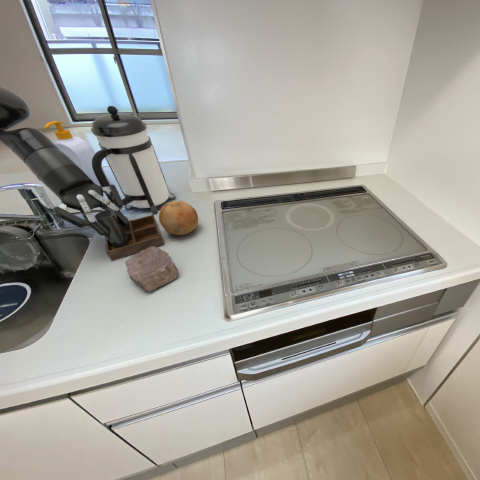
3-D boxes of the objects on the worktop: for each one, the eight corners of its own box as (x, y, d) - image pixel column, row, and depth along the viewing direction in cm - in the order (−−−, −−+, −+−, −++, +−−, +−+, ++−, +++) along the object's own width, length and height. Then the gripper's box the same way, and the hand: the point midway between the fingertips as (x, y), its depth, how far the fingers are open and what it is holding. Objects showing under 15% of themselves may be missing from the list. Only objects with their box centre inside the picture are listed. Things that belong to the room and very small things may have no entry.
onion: (200, 219, 82) (191, 191, 75) (202, 237, 75) (194, 208, 69) (165, 225, 78) (154, 196, 72) (165, 245, 71) (152, 215, 65)
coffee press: (122, 198, 89) (73, 101, 70) (173, 189, 95) (141, 98, 76) (121, 225, 77) (63, 118, 58) (179, 213, 84) (144, 112, 65)
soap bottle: (73, 193, 90) (29, 123, 75) (89, 184, 95) (51, 117, 81) (97, 196, 89) (58, 126, 75) (112, 186, 95) (78, 119, 80)
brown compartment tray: (111, 261, 66) (106, 252, 64) (108, 235, 73) (103, 227, 72) (164, 244, 72) (161, 236, 70) (156, 222, 79) (153, 214, 77)
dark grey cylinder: (112, 249, 66) (94, 220, 60) (111, 241, 68) (94, 212, 62) (130, 244, 68) (115, 216, 62) (129, 236, 70) (114, 208, 64)
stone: (124, 271, 63) (115, 257, 61) (161, 253, 69) (155, 239, 66) (145, 297, 58) (137, 283, 55) (184, 275, 63) (178, 262, 60)
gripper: (20, 176, 52) (88, 241, 57) (93, 154, 63) (147, 210, 67) (23, 193, 57) (86, 251, 62) (90, 170, 68) (141, 221, 72)
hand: (117, 229), depth 64 cm, fingers closed on dark grey cylinder, 4 cm apart
